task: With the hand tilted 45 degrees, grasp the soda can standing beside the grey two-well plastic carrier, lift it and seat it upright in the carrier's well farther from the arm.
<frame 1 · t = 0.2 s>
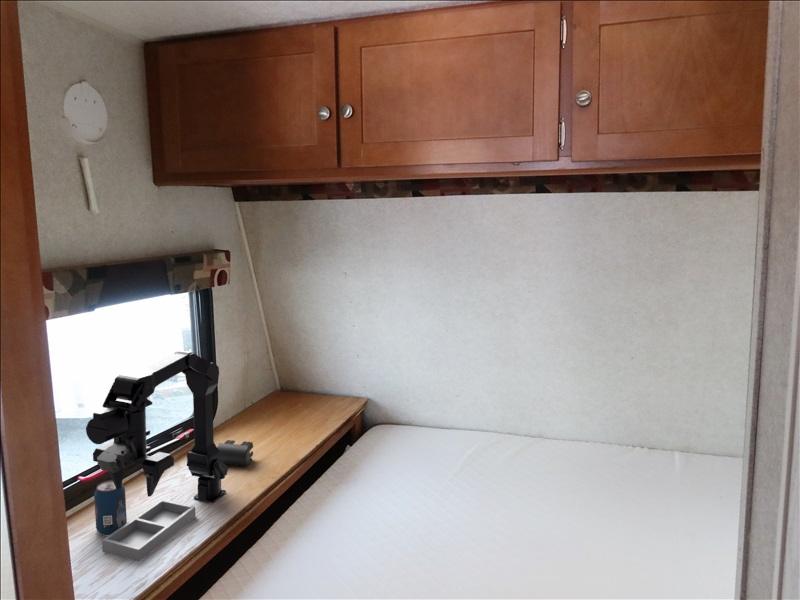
hand: (134, 492, 137), 15 cm above the shelf, tool pointing down, fingers open, 9 cm apart
soda can: (111, 530, 147), on the shelf
end cap: (235, 464, 185), on the shelf
can carrier: (151, 533, 146), on the shelf
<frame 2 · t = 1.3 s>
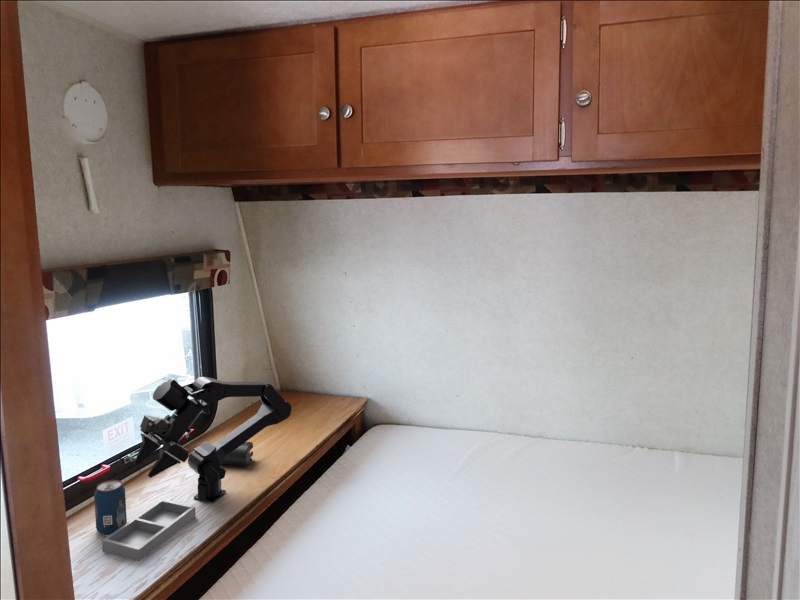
hand: (142, 470, 150), 13 cm above the shelf, tool tilted 45°, fingers open, 9 cm apart
nothing on the shelf moved.
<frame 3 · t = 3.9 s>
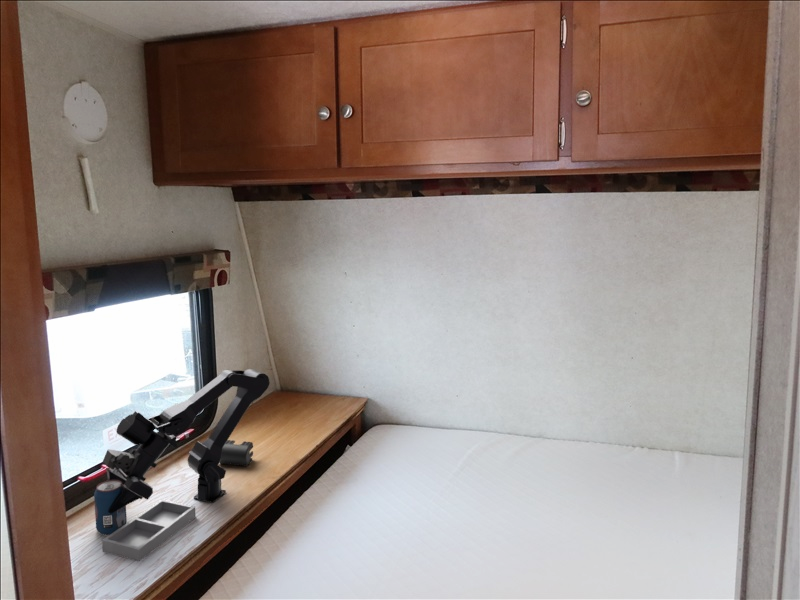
hand: (104, 506, 145), 7 cm above the shelf, tool tilted 45°, fingers closed on soda can, 7 cm apart
soda can: (111, 529, 147), on the shelf, touching gripper
everything else where it was.
when the fingers open (8 cm above the shelf, at t = 7.9 s): soda can stays where it is, resting on can carrier.
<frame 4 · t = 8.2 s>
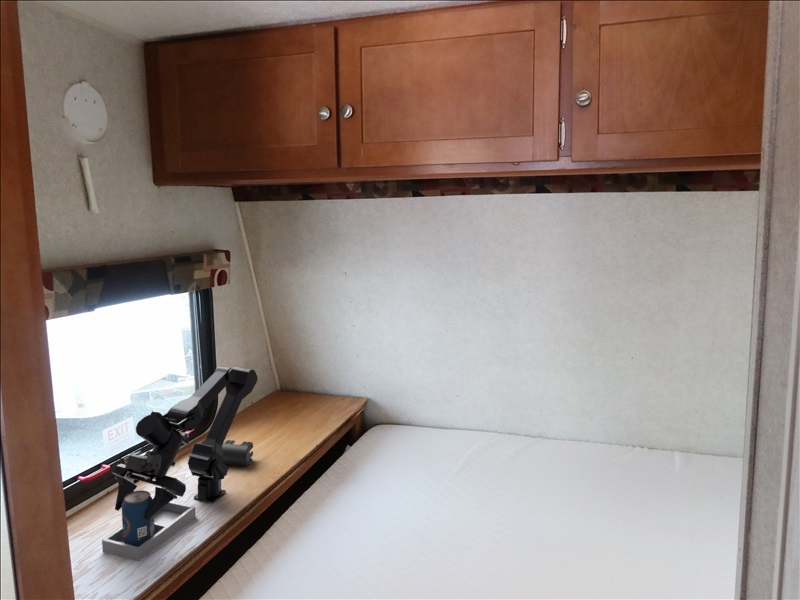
hand: (130, 514, 138), 9 cm above the shelf, tool tilted 45°, fingers open, 9 cm apart
soda can: (139, 542, 141), resting on can carrier
everything else where it was.
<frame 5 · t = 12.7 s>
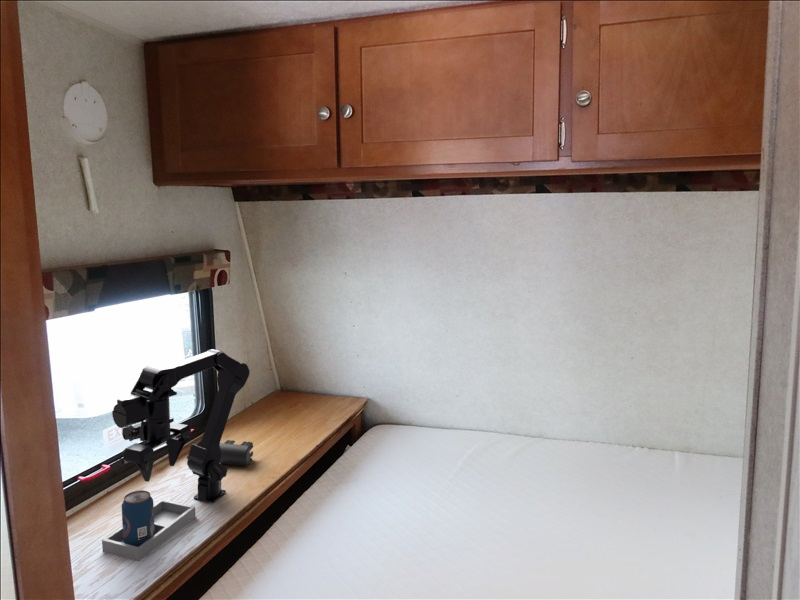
hand: (159, 473, 150), 13 cm above the shelf, tool pointing down, fingers open, 9 cm apart
nothing on the shelf moved.
at the end: soda can 0.5 cm from the target spot on the can carrier, point 0.4 cm above the can carrier's base; soda can tilted 0°; the gripper is holding nothing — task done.
